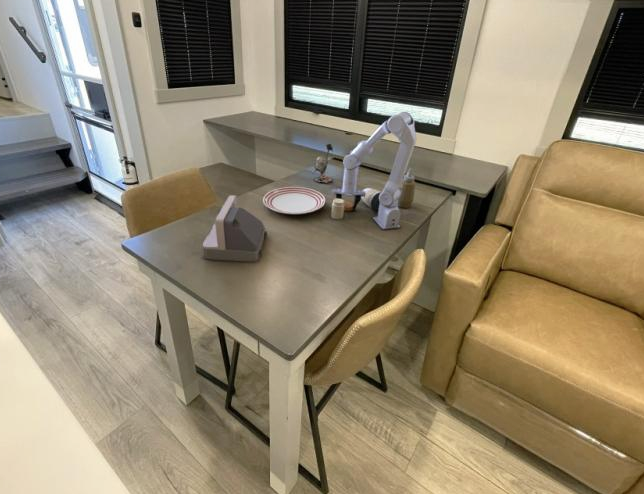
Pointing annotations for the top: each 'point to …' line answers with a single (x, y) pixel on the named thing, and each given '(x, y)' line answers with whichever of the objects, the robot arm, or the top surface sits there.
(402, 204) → the squeeze bottle
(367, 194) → the coffee cup
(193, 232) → the top surface
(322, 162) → the plant with pod
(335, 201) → the jar
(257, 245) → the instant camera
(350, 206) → the lid
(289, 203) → the dinner plate
